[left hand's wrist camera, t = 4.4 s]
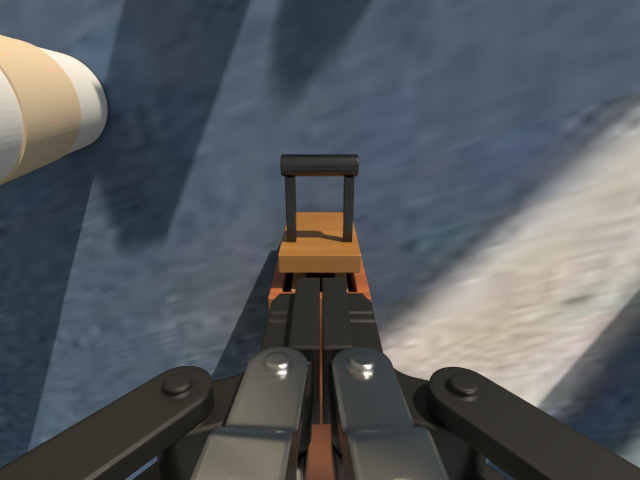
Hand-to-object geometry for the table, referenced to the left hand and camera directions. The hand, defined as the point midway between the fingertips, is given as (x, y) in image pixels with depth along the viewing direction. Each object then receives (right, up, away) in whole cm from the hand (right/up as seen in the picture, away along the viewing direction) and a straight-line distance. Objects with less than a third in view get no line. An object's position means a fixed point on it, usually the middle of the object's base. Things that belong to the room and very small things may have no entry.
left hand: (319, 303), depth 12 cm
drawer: (0, -1, +21) cm, 21 cm away
